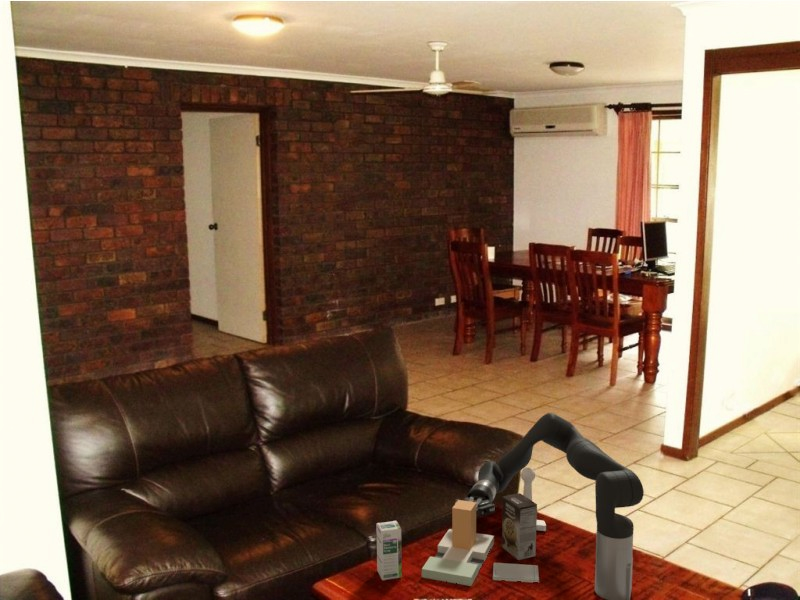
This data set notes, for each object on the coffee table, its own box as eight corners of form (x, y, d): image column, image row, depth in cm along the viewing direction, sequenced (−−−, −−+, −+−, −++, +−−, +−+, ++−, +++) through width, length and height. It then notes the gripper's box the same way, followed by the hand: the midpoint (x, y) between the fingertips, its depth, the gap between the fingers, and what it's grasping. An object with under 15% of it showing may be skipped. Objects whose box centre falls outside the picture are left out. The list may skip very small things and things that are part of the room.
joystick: (543, 525, 244) (544, 465, 241) (548, 536, 237) (549, 474, 234) (508, 526, 244) (509, 465, 241) (511, 537, 237) (512, 474, 234)
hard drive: (492, 576, 212) (539, 579, 210) (493, 561, 220) (537, 564, 218) (492, 582, 212) (538, 584, 210) (493, 567, 220) (537, 569, 218)
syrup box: (381, 581, 212) (381, 531, 209) (376, 570, 217) (376, 521, 215) (402, 578, 213) (401, 528, 211) (396, 567, 219) (396, 519, 216)
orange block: (475, 540, 229) (476, 502, 227) (470, 549, 224) (470, 510, 222) (457, 538, 231) (458, 499, 229) (452, 547, 226) (452, 507, 224)
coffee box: (500, 547, 230) (501, 495, 228) (519, 543, 233) (520, 492, 231) (517, 561, 222) (518, 507, 220) (536, 556, 225) (537, 503, 222)
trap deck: (493, 543, 233) (493, 535, 232) (471, 586, 209) (471, 577, 208) (449, 536, 238) (449, 528, 237) (421, 577, 213) (421, 568, 213)
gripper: (461, 481, 247) (445, 502, 231) (502, 486, 242) (489, 508, 226) (461, 503, 248) (445, 526, 232) (502, 509, 243) (488, 532, 227)
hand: (467, 517), depth 229 cm, fingers closed
